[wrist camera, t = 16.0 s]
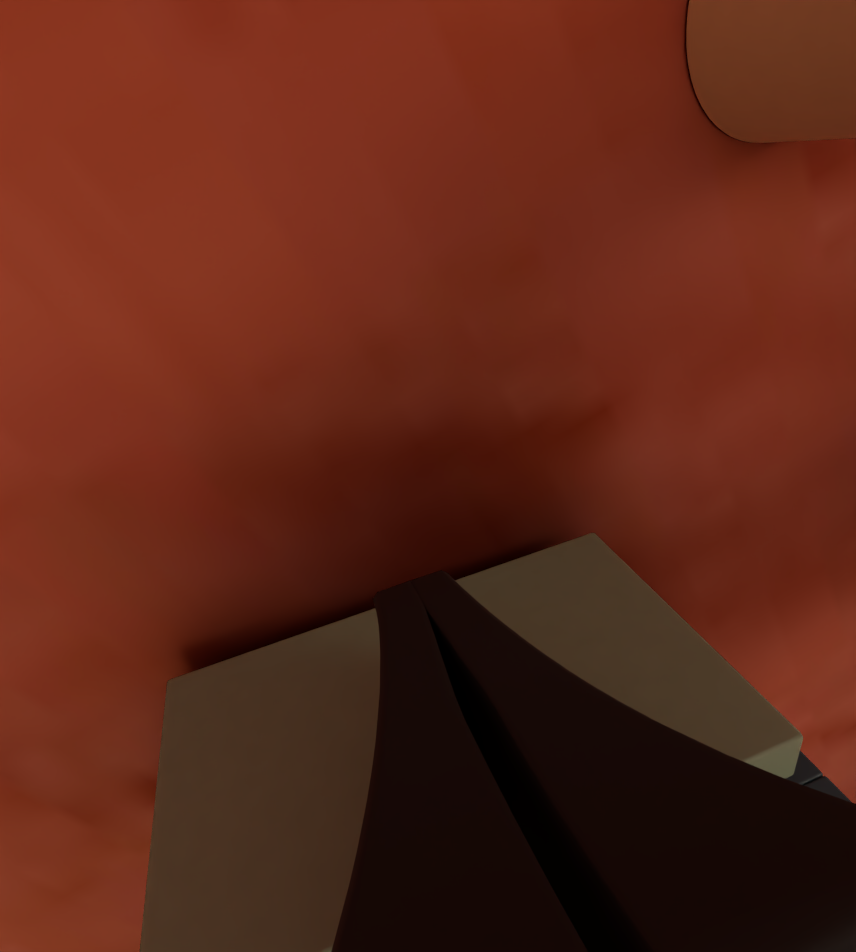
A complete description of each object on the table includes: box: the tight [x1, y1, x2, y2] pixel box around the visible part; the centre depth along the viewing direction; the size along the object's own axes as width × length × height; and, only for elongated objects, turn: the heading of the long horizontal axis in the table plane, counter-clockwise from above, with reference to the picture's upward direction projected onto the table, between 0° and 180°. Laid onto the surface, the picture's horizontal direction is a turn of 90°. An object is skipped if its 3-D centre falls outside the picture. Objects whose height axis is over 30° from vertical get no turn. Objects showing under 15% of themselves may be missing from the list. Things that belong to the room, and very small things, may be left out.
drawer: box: [140, 533, 803, 952], centre depth 15 cm, size 14×11×7 cm
